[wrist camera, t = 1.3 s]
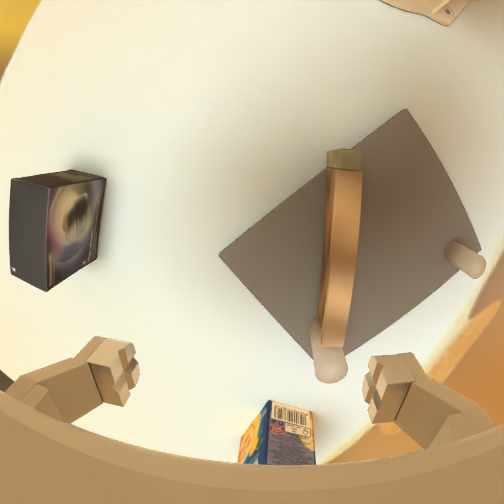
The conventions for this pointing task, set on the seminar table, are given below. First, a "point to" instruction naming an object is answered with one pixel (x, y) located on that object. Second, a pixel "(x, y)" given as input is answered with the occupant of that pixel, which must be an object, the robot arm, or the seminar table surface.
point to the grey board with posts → (362, 245)
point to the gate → (339, 243)
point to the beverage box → (279, 437)
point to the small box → (53, 225)
